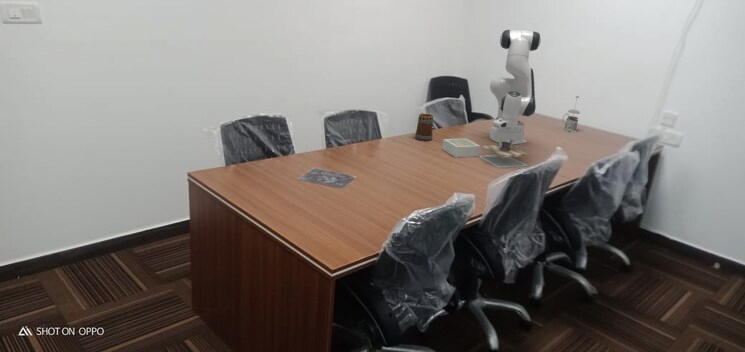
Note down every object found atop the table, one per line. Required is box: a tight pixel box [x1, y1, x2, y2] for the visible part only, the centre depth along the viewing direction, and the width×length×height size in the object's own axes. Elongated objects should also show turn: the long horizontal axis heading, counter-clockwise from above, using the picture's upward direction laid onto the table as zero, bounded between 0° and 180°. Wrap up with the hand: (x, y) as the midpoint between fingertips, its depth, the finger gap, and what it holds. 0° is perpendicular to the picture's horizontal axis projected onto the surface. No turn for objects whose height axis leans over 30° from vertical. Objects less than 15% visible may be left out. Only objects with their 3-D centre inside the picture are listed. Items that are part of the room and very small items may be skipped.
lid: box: [482, 142, 528, 158], centre depth 272 cm, size 17×17×5 cm
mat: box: [477, 154, 528, 169], centre depth 275 cm, size 19×19×1 cm
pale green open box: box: [441, 137, 481, 158], centre depth 283 cm, size 15×15×6 cm
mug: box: [414, 112, 434, 142], centre depth 306 cm, size 16×11×15 cm
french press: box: [562, 95, 581, 133], centre depth 354 cm, size 10×12×25 cm
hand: (504, 147), depth 272 cm, fingers closed on lid, 4 cm apart
